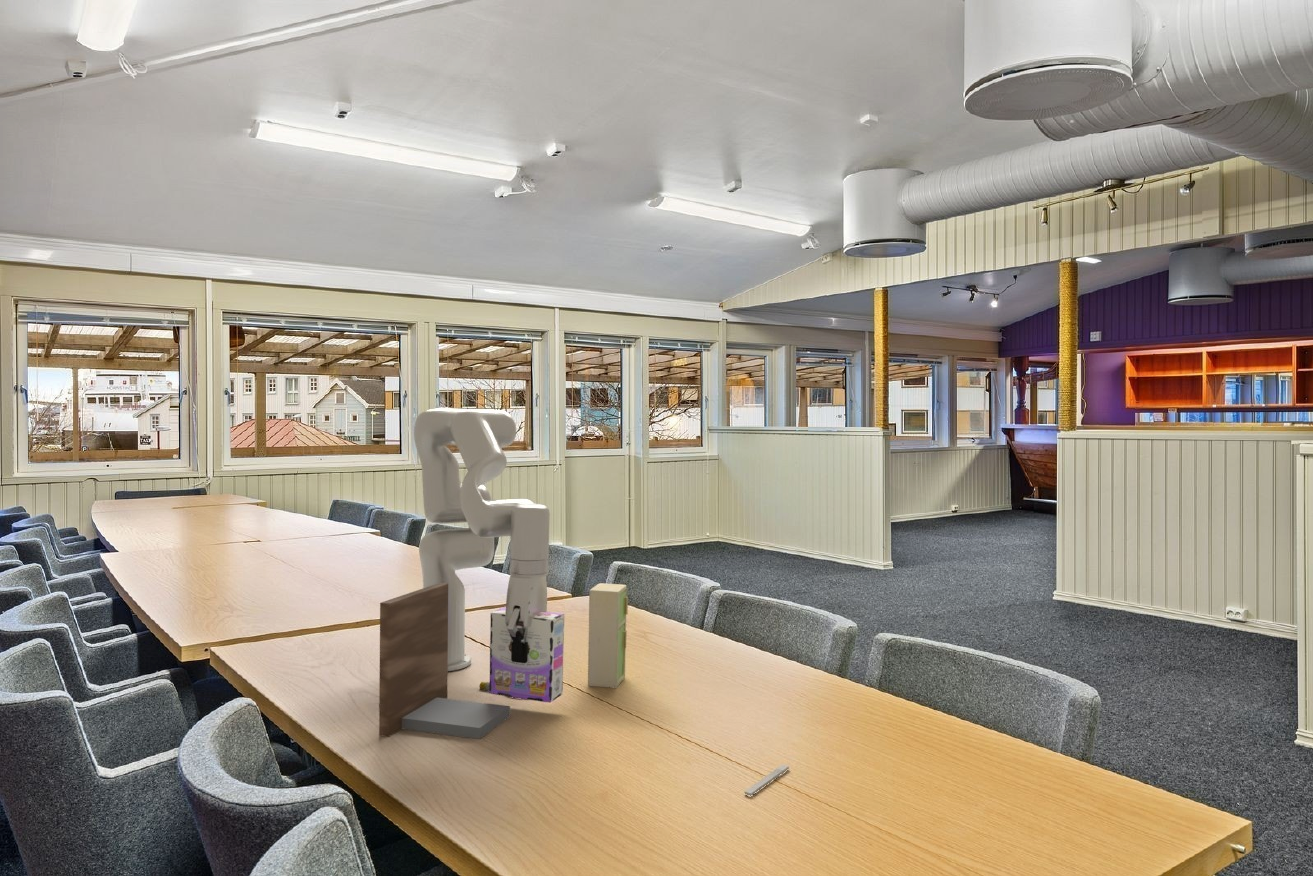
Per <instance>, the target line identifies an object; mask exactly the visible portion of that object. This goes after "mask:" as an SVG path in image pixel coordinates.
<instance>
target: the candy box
mask: <svg viewBox="0 0 1313 876" xmlns="http://www.w3.org/2000/svg"><path fill="white" fill-rule="evenodd" d="M505 612H506V606H504V607H501V608H499V609H497V610H494V611H492V612H491V613H490V628H489V629H490V636H489V637H490V638H489V641H490V643H489V682H490V683H489V684H490V686H489V691H488V694H490V695H496V696H502V697H507V698H509V697H515V698H521V699H520V700H527V701H528V700H529V701H535V702H542V703H552V702H554V701H555V700H556V699H557V698H559V697H561V696H562V695H563V688H564V687H563V686H564V649H565V648H564V644H565V642H564V641H565V613H562V612H560V613H559V612H551V611H547V612H544V611H543V612H540V613H538V614H537V615H535V616H534V617H533V618H532V622H531V626H530V627H528V631H527V638H526V642H528V656H527V662H526V663H519V662H512V661H511V648H512V642H511V637H510V633H509V632H508V630H507V628H508V626H507V625H506V624H505ZM518 625H519V626H523V625H524V623H518ZM518 631H520V633H521V634H522V632H523V630H522V629H518ZM515 698H514V699H515Z"/></svg>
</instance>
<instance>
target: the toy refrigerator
mask: <svg viewBox="0 0 1313 876" xmlns="http://www.w3.org/2000/svg"><path fill="white" fill-rule="evenodd" d="M627 586H628V585H627V584H620V583H618V584H617V583H602V582H601V583H597V584H596V585H594V586H593V587H592V588H590V589H589V593H588V594H589V595H588V597H589V598H588V599H589V601H588V602H589V603H588V605H589V606H588V652H587V653H588V655H587V656H588V657H587V658H588V660H587V665H588V666H587V685H588V686H589V687H598V688H599V687H601V688H609V687H610V689H611V688H612V689H616V688H618V687H619V686H620V684H621V683H622V681H623V680H624V679H625V677H626V648H627V634H628V631H627V615H628V613H629V612H628V611H629V610H628V608H629V596H627V594H628V593H627V591H628V590H627V589H628V587H627Z"/></svg>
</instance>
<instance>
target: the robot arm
mask: <svg viewBox="0 0 1313 876" xmlns="http://www.w3.org/2000/svg"><path fill="white" fill-rule="evenodd" d="M516 437H517V425H516V423H515V420H514V418H513V417H512V415H511V414H510V413H509V412H507V411H506V410H502V409H483V408H482V409H480V408H479V409H477V408H476V409H475V408H474V409H473V408H471V409H470V408H469V409H467V408H447V407H446V408H431V409H427V410H424V411H421V413H419V414H418V416H417V417H416V419H415V422H414V427H413V438H414V439H413V440H414V445H415V448H416V451H417V454H418V457H419V458H418V459H419V460H420V461H419V462H420V464H421V474H422V475H421V478H422V479H421V481H422V482H421V483H422V497H423V500H422V501H423V509H424V515H425V518H426V520H427V521H428V522H430V523H431V524H437V525H438V524H439V525H445V524H460V523H461V524H463V523H467V526H468V527H465V528H451V529H450V528H449V529H448V528H447V529H438V530H434V531H431V532H428V533H426V534H425V535H424V536H422V538H421V540H420V542H419V546H418V553H419V560H420V565H421V574H422V589H423V588H426V587H429V586H432V585H435V584H438V583H448V672H453V671H458V670H461V669H464V668H466V667H469V666H470V665H471V663H472V657H471V656H470V655H469V654H465V647H466V646H465V643H466V642H465V637H466V635H465V633H466V632H465V631H466V629H465V627H466V626H465V625H466V624H465V623H466V621H465V620H466V619H465V618H466V589H465V585H464V583H463V582H462V580H461V579H460V577H459V576H458V575H457V573H456V571H458V570H463V569H464V570H465V569H473V568H481V567H482V568H483V567H484V566H485V567H486V566H487V565H489V564H490V563H491V562H492V561H493V558H494V555H495V538H500V537H501V538H502V537H510V543H509V545H510V547H509V548H510V549H509V575H510V576H509V579H508V583H507V584H508V585H507V592H506V600H505V601H506V602H505V607H506V612H505V624H506V625H507V626H508V628H507V630H508V632H509V633H510V637H511V642H512V648H511V661H512V662H519V663H526V662H527V656H528V642H526V638H527V631H528V627H530V626H531V622H532V618H533V617H534V616H535V615H537V614H538V613H540V612H543V611H544V612H548V586H547V585H548V582H547V576H548V575H549V555H550V554H549V553H550V552H549V549H550V548H549V545H550V516H551V514H550V510H549V508H548V506H547V505H544V504H541V503H535V502H533V501H532V500H530V499H527V498H511V499H510V498H508V499H506V498H505V499H492V497H491V493H490V492H489V489H488V488H487V487H486V486H485V484H487V483H489V482H491V481H493V480H494V479H496V478H497V477H498V476H500V475H501V474H502V473H503V472H504V471H505V469H506V467H507V463H508V462H507V461H508V459H507V457H506V455H505V452H504V450H503V448H506V447H509V446H510V445H512V444H513V442H514V441H515V439H516ZM449 445H450V446H451V445H452V446H453V445H454V446H456V447H457V449H458V451H459V454H460V456H461V458H462V460H463V463H464V465H465V467H466V470H467V472H466V474H465V476H464V477H463V480H462V482H461V479H460V465H459V461H458V459H457V458H456V456H455V454H454V453H453V452H452V451H451V449H449V448H448V447H447V446H449ZM518 623H524V625H523V626H519V625H518ZM518 629H522V630H523V632H522V634H521V633H520V631H518Z"/></svg>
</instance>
